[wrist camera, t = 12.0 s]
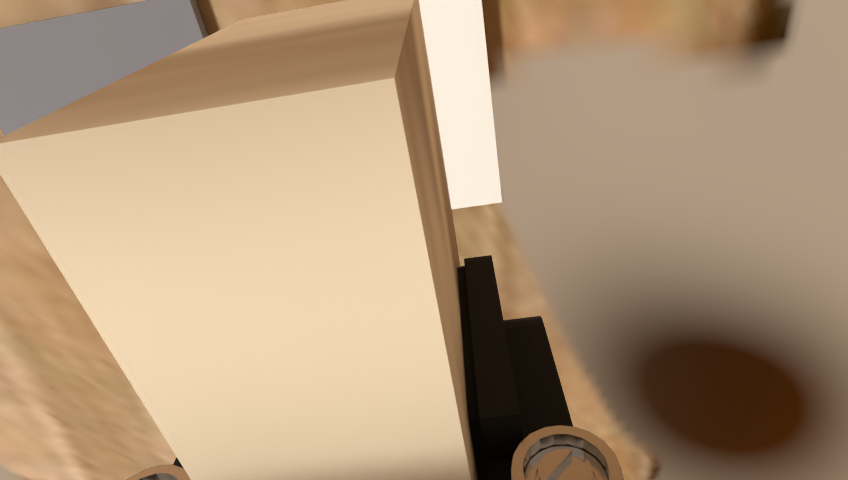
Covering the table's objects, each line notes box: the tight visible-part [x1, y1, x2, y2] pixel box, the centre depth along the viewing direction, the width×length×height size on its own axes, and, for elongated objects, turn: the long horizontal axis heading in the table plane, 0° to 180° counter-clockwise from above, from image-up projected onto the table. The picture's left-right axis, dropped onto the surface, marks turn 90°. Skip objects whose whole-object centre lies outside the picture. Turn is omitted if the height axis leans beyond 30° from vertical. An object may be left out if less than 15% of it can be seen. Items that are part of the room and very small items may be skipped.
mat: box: [0, 0, 208, 136], centre depth 26 cm, size 12×11×1 cm
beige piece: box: [0, 0, 479, 480], centre depth 10 cm, size 16×5×6 cm, turn 9°
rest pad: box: [419, 0, 502, 209], centre depth 24 cm, size 10×7×1 cm
